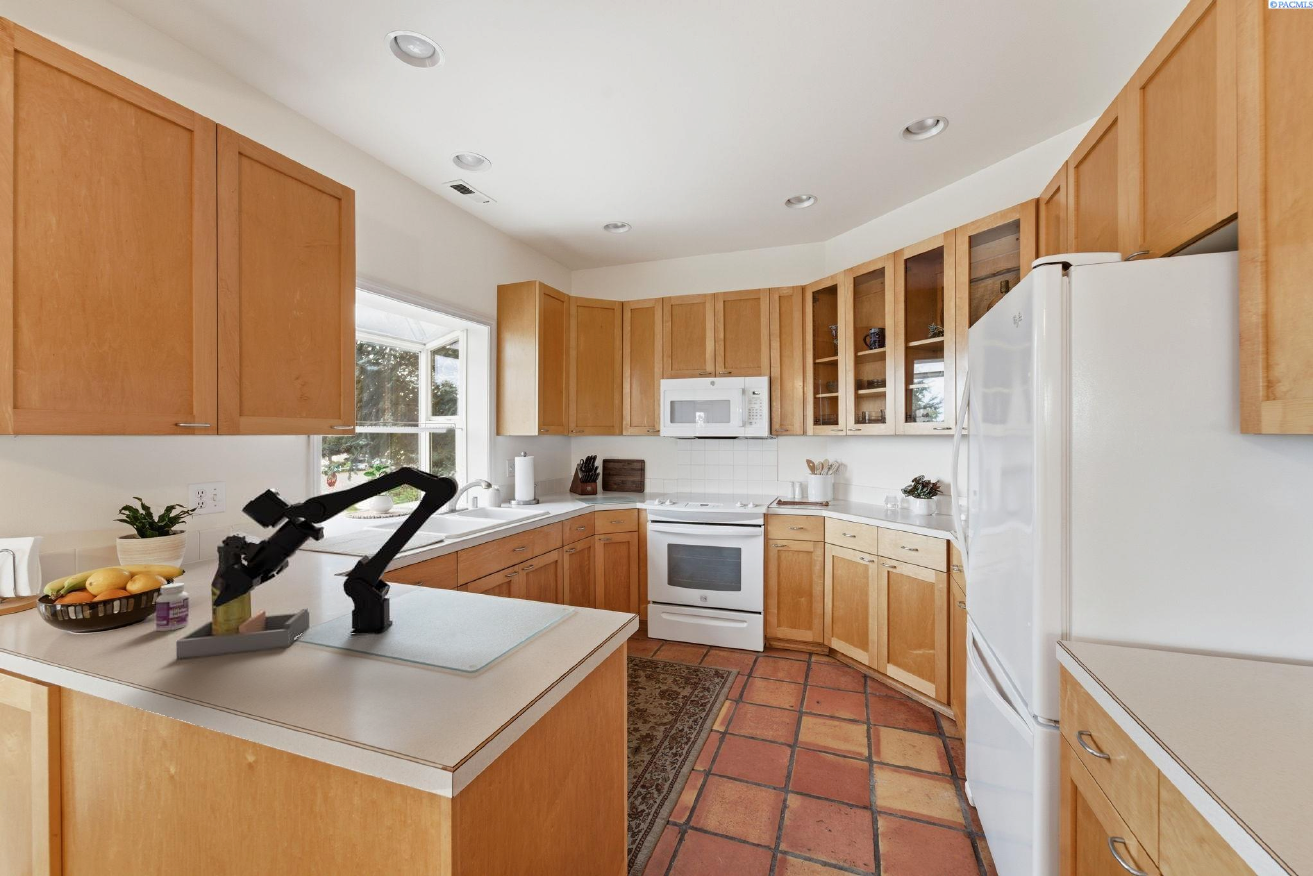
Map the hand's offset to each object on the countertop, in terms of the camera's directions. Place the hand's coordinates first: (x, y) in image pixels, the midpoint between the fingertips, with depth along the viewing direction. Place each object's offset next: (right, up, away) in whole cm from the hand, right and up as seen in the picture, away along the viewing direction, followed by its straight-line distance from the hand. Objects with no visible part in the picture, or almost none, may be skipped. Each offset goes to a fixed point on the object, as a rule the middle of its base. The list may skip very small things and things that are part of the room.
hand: (223, 600), depth 106 cm
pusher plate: (+5, -8, +1) cm, 10 cm away
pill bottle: (-20, -10, +10) cm, 25 cm away
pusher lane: (+3, -9, +1) cm, 10 cm away
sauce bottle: (+2, -8, 0) cm, 8 cm away
